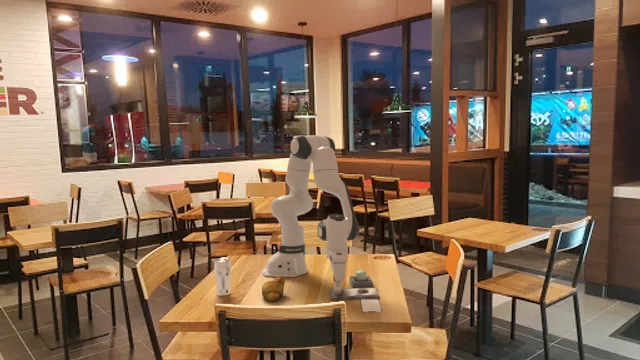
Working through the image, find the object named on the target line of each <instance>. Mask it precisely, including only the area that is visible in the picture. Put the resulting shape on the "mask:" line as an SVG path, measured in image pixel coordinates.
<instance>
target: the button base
mask: <svg viewBox="0 0 640 360" xmlns="http://www.w3.org/2000/svg"><path fill="white" fill-rule="evenodd" d="M349 284H350V286H351V287H350V288H366V287H374V282H373V280H372V278H371V276H370V275H367V281H358V282H357V281H356V280H355V275H353V276H352V275H351V276H349Z"/></svg>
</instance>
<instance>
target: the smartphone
mask: <svg viewBox="0 0 640 360" xmlns="http://www.w3.org/2000/svg"><path fill="white" fill-rule="evenodd" d="M359 300H360V306H361V308H362V309H361V312H362V313H364V312H371V314H372V312H381V313H383V308H382V306H381V302H380V298H377V299H359Z"/></svg>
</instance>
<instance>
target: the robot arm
mask: <svg viewBox="0 0 640 360" xmlns="http://www.w3.org/2000/svg"><path fill="white" fill-rule="evenodd" d="M289 149H290V155H289V158H288V162H287V167H286V168H287V169H286V173H285V174H286V175H285V179H284V180H285V183H286V185H287V186H288V187H289V194H286V195H285V194H284V195H279V196H278V197H276V198H275V199H273V200H272V201H271V202H270V208H269V209H270V212H271V214H272V216H274V217H275V218H276V219H277V221H278V223H279V226H280V231H281V232H280V233H281V243H280V242H278V243H277V245H276V247H277V252H276V253H275V252H274V254H273V255H271V257H268V260H267V263H266V266H265V267H264V268H263V269H262V276H264V277H268V278H269V277H270V278H271V277H274V278H276V277H279V276H282V277H284V278H296V277H298V276H301V275H305V274H307V273H308V272H309V271H308V267H307V263H306V256H305V255H306V244H305V229H304V227H303V226H302V225H301V224H300V223H299V220H298V216H302V215H305V214H306V213H309V212H310V211H311V210H312V209H313V207H314V201H313V198H312V196H311V195H310V193H309V181H310V180H309V178H310V174H311V173H310V171H311V166H312V173H313V180H314V183H315V186H316V187H317V188H318V189H319V190H321V191H323V192H325V193H329V194H331V195H333V196H335V197H337V198H338V199H339V201H340V205H341V209H342V214H340V213H331V214H330V215H328V216H327V218H326V219H323V220H321V221H319V223H318V224H317V237H318V238H319V239H320V240H321V241H323V242H326V258H327V259H329V261H330V268H331V270H332V275H333V274H334V277H335V280H336V287H340V283H341V284H342V282H344V281H345V280H346V279H345V278H346V269H347V263H348V257H349V251H348V250H349V249H348V248H349V247H348V246H349V245H348V241H354V240H355V239H356V238H357V237H358V236H359V235H360V225H359V222H358V219H357V216H356V213H355V210H354V205H353V203H352V202H353V201H352V198H351V194H350V190H349V188H348V185H347V183H346V182H344V181H343V180H342V179H341V176H340V174H339V167H338V161H337V157H336V152H335V151H336V144H335V141H334V139H332V138H331V137H330V136H329V137H328V136H325V135H324V136H322V135H315V134H313V135H303V134H301V135H296V136H294V137H293V138H292V139H291V141H290V144H289Z"/></svg>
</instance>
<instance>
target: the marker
mask: <svg viewBox="0 0 640 360" xmlns="http://www.w3.org/2000/svg"><path fill="white" fill-rule="evenodd" d="M332 275H333V277H332V278H333V289H334V294H341V288H342V282H341V283H340V287H336V280H335V277H334V274H333V273H332Z"/></svg>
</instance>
